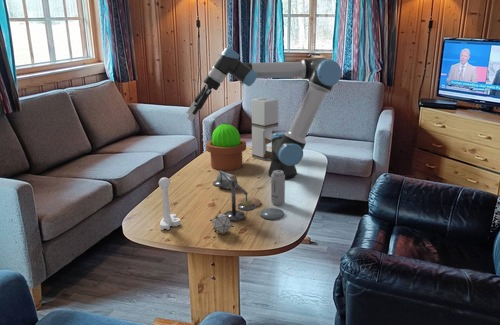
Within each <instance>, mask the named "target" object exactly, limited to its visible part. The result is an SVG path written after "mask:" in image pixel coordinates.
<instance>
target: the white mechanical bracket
mask: <svg viewBox="0 0 500 325" xmlns="http://www.w3.org/2000/svg"><path fill="white" fill-rule="evenodd" d="M158 185H159V187H160V188H161V190H162V191H161V192H162V194H161V195H162V213H163V217H162V218H161V220H160V222H159V228H160V229H161V230H164V229H165V230H171V227H174V226H176V227H178V225H179V226H180V225H181V218H179V217H177V214H176V213H171V209H170V201H169V192H168V191H169V187H170V185H171V181H170V179H169V178H168V177H161V178H160V179H159V181H158ZM161 230H160V231H161Z"/></svg>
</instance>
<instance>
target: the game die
mask: <svg viewBox="0 0 500 325" xmlns="http://www.w3.org/2000/svg"><path fill="white" fill-rule="evenodd" d="M228 216H229V215H228ZM228 216H227V215H224V213H222V212H221V211H220V210H219V213H218V214H217V215H216V216H215V217H214V218H212V219H209V222H211V223H212V226H213V228H212V230H214V233H216V232H218V233H220V234H222V236H225V233H226V232H228V231H229V230H230V229H231V228H235V226H234V225H232V222H231V221H230V218H231V217H230V218H229V217H228Z"/></svg>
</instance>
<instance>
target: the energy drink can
mask: <svg viewBox="0 0 500 325" xmlns="http://www.w3.org/2000/svg"><path fill="white" fill-rule="evenodd" d="M270 181H271V182H270V192H271V193H270V197H271V198H270V199H271V200H270V202H271V204H272V205H273V206H277V207H278V206H279V207H280V206H283V205H284V203H286V202H285V199H286V198H285V196H286V195H285V194H286V193H285V192H286V179H285V175H284V172H283V171H281V170H275V171H273V173H272V175H271V177H270Z"/></svg>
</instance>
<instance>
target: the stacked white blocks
mask: <svg viewBox="0 0 500 325" xmlns="http://www.w3.org/2000/svg"><path fill="white" fill-rule="evenodd" d="M276 129H279V99H277V98H276V99H275V98H274V99H270V100H267V97H265V96H264V97H259V98H252V99H251V151H252V153H251V156H252V158H253V159H256V160H257V159H258V160H260V161H265V162H266V161H269V160H272V159H271V158H272V151H269V150H267V148H268V147H267V146H268V145H269V144H272V140H271V138H272V134H273V130H276Z"/></svg>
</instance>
